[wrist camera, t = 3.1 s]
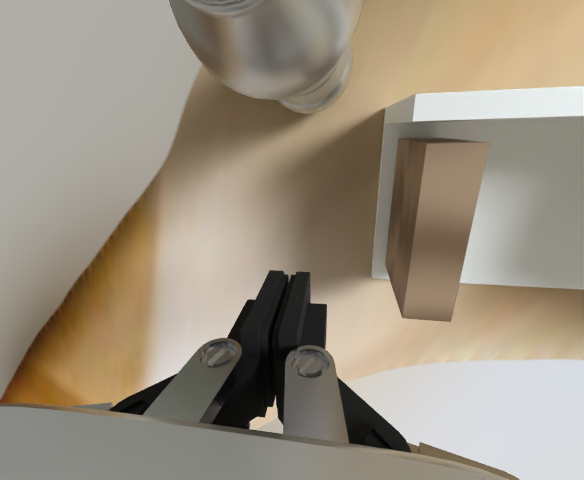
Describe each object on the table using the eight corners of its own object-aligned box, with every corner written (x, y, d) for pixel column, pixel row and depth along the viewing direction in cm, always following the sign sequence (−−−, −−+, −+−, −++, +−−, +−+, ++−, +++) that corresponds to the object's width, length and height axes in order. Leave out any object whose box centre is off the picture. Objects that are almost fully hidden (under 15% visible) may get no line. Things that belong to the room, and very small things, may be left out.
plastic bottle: (344, 4, 20) (373, -1037, 2) (357, 104, 23) (428, 7, 4) (261, 33, 22) (-139, -445, 4) (281, 124, 24) (96, 112, 6)
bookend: (398, 138, 22) (426, 143, 15) (439, 137, 22) (490, 142, 14) (385, 264, 26) (402, 318, 19) (419, 266, 26) (450, 321, 18)
